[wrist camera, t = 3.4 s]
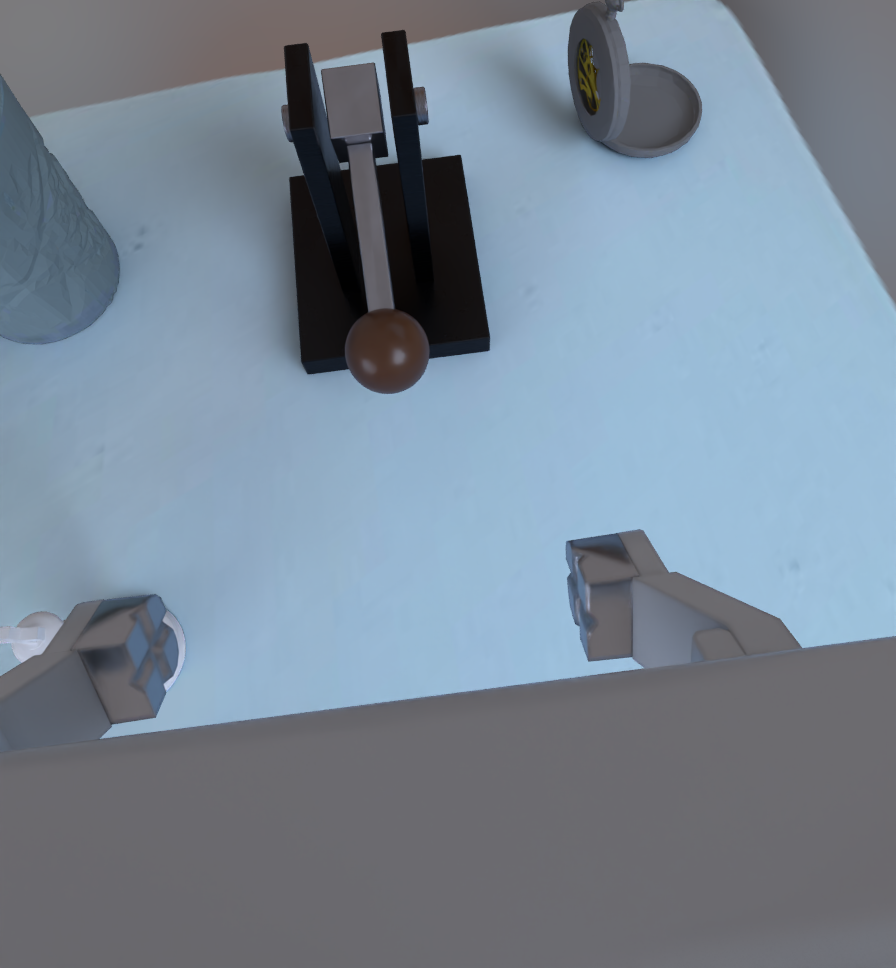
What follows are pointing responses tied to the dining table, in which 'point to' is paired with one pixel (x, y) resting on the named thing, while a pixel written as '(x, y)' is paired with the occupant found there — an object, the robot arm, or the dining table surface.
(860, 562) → the dining table surface
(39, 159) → the grey embossed pot
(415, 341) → the tap lever
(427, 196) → the black lever stand
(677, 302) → the dining table surface
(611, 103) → the pocket watch
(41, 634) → the chess piece
